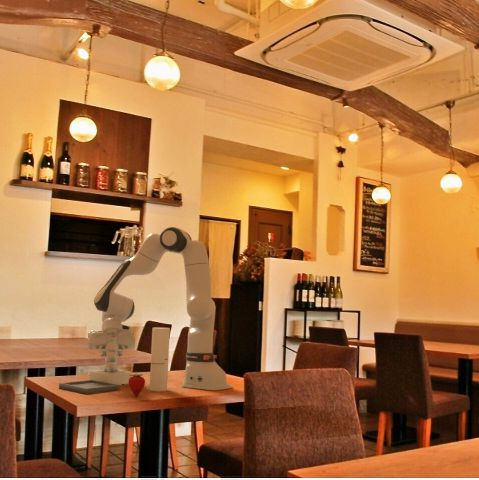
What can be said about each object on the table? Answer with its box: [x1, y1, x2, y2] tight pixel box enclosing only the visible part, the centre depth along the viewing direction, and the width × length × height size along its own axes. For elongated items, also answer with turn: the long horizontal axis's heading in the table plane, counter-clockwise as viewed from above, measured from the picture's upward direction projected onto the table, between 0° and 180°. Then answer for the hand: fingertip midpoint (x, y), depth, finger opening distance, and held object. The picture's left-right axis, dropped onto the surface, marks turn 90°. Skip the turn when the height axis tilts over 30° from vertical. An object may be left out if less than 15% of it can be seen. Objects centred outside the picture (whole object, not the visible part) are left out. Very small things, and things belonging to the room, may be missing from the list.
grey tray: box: [58, 379, 121, 395], centre depth 223 cm, size 18×16×2 cm
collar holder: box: [89, 369, 132, 386], centre depth 240 cm, size 12×12×5 cm
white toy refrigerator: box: [148, 327, 171, 392], centre depth 228 cm, size 7×7×25 cm
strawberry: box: [128, 370, 146, 397], centre depth 210 cm, size 6×8×10 cm
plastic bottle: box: [103, 336, 120, 374], centre depth 241 cm, size 6×7×20 cm
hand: (111, 355), depth 241 cm, fingers closed on plastic bottle, 6 cm apart
